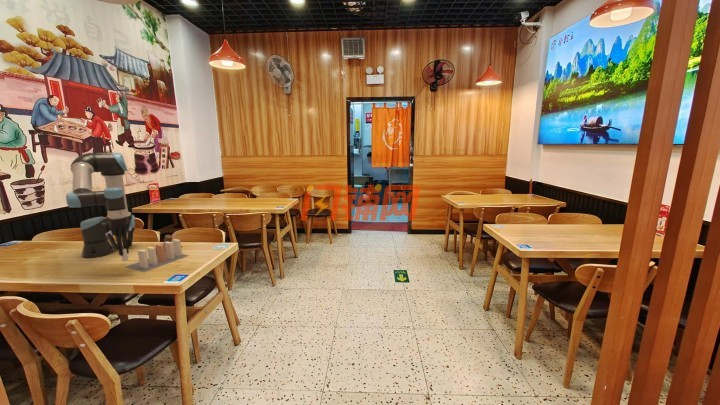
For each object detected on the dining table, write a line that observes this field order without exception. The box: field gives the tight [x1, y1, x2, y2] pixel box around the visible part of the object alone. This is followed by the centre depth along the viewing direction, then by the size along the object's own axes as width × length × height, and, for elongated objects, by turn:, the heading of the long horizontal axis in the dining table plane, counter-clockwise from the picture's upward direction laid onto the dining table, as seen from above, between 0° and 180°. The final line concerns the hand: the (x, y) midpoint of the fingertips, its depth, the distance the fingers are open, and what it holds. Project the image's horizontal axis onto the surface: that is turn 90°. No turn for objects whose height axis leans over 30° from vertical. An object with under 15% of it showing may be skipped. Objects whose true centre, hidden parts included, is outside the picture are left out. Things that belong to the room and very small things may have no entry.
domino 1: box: [137, 249, 149, 268], centre depth 162 cm, size 2×5×10 cm, turn 67°
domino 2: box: [146, 246, 158, 265], centre depth 167 cm, size 2×5×10 cm, turn 67°
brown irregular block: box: [156, 234, 183, 255], centre depth 188 cm, size 18×9×10 cm, turn 168°
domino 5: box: [172, 238, 183, 256], centre depth 180 cm, size 2×5×10 cm, turn 67°
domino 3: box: [155, 243, 166, 262], centre depth 171 cm, size 2×5×10 cm, turn 67°
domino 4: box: [163, 241, 174, 259], centre depth 176 cm, size 2×5×10 cm, turn 67°
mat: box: [124, 252, 190, 273], centre depth 172 cm, size 18×26×1 cm
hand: (125, 260), depth 154 cm, fingers closed
